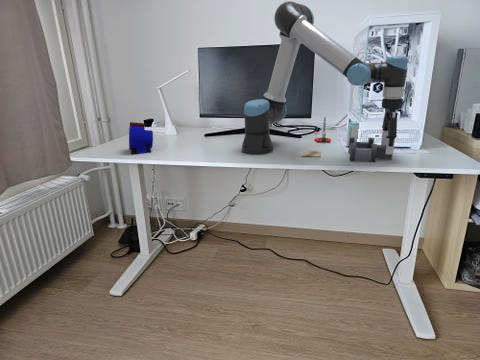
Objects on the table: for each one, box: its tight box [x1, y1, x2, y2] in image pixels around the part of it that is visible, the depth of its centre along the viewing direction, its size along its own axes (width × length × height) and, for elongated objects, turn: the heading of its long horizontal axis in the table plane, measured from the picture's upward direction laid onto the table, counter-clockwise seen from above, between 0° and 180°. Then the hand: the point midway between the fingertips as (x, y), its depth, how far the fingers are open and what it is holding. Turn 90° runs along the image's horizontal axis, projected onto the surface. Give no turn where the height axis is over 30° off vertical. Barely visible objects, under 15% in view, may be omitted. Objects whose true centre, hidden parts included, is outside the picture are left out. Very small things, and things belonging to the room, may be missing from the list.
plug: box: [376, 144, 393, 161], centre depth 133 cm, size 7×5×5 cm
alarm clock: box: [128, 121, 154, 156], centre depth 157 cm, size 12×12×15 cm
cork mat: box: [301, 150, 322, 159], centre depth 141 cm, size 8×8×1 cm
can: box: [346, 120, 359, 147], centre depth 150 cm, size 7×7×12 cm
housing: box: [347, 137, 378, 163], centre depth 135 cm, size 10×14×7 cm
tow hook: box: [314, 117, 332, 144], centre depth 164 cm, size 8×13×9 cm
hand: (386, 149), depth 132 cm, fingers open, 13 cm apart
